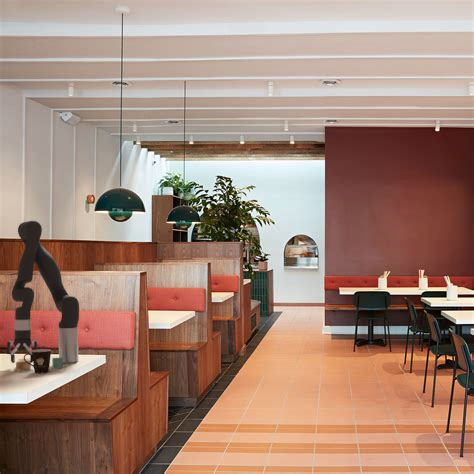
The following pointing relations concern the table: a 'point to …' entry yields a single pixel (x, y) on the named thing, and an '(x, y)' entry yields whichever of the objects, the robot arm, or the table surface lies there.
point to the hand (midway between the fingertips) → (22, 362)
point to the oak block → (23, 364)
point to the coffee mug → (40, 360)
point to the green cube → (57, 362)
